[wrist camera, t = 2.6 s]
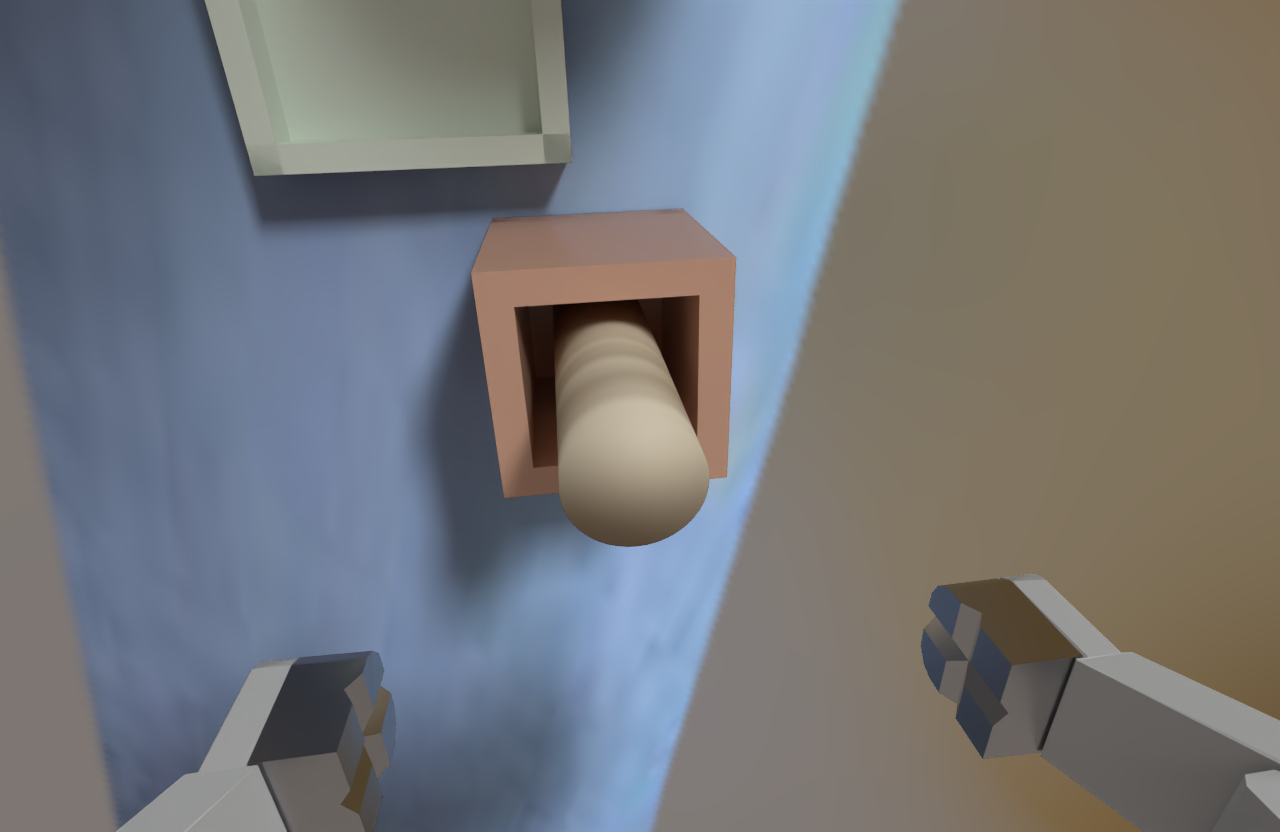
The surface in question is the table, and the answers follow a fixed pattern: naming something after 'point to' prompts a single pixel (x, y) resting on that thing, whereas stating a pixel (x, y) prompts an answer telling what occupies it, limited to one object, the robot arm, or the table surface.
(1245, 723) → the robot arm
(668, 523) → the dowel
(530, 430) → the brown hollow block
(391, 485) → the table surface
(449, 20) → the tray
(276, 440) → the table surface
